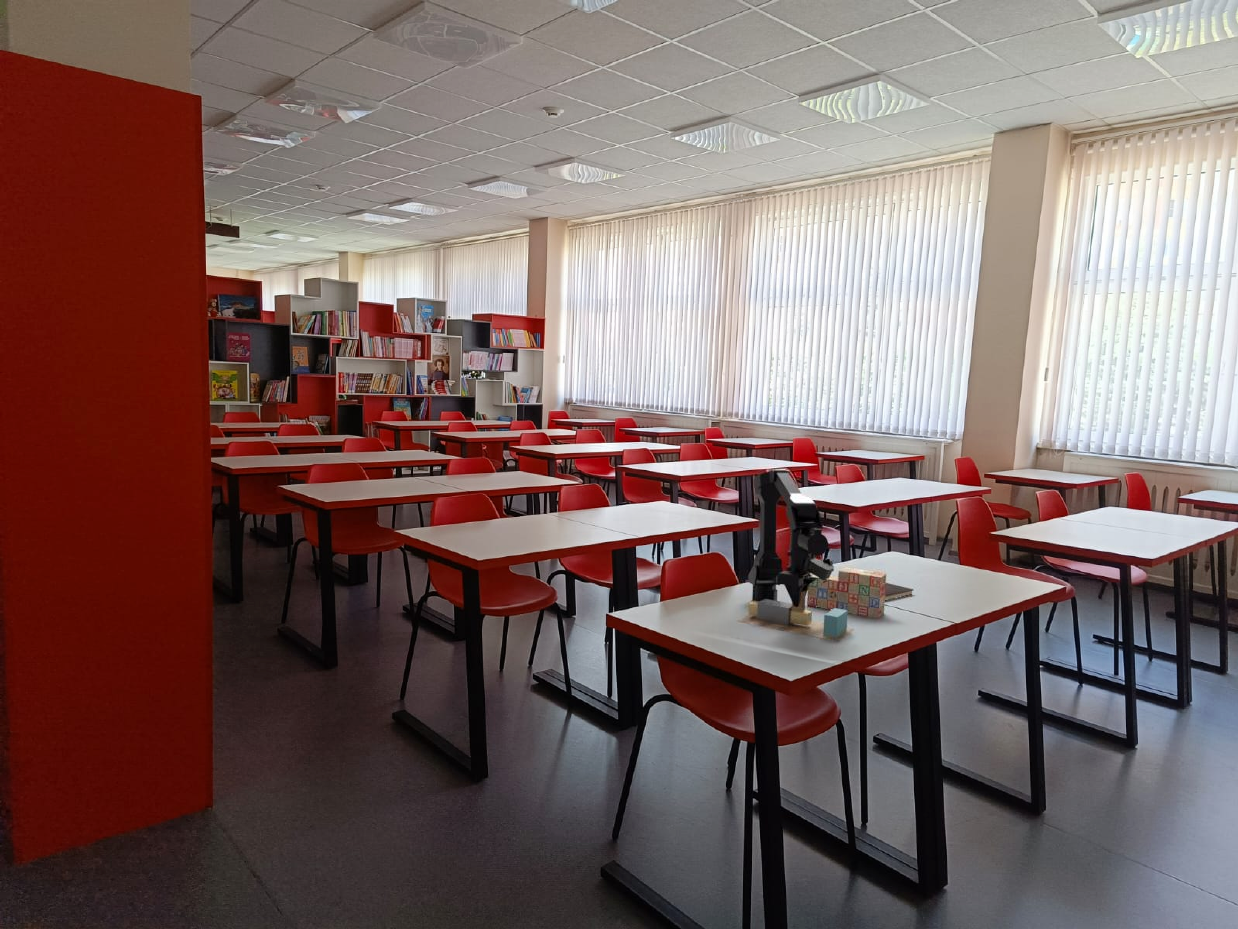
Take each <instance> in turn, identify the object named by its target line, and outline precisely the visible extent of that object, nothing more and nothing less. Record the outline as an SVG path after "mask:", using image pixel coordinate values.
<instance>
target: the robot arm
mask: <svg viewBox="0 0 1238 929" xmlns="http://www.w3.org/2000/svg"><path fill="white" fill-rule="evenodd" d="M753 486H754V487H753V488H754V490H755V495H756V497H757V499H758V500H759V502H760V513H759V514H760V517H759V518H760V519H759V521H760V522H759V523H760V525H759V531H760V532H759V551H758V552H757V554H756V556H755V557H754V559H753V565H752V568H751V569H750V571H749V574H748V577H747V578H748V583H749V584H751V585H752V594H751V598H752V600H751V601H758V602H760V601H762V600H764V599H769V600H775V601H778V589H777V586H781V585H783V586H784V587H785V590H786V591H787V594H788V595H789V598H790V600H791V603H793V605H794V607H798V605H799V601H800V595H801V590H806V594H805V598H806V596H807V594H808V588H809V585H810V584H811V583H812V582H813V581H815V580H816V579H817V578H813V577H812V574H813V575H815V576H817V577H819V579H821V580H826V579H829V577H830V575H832V573H833V572H834V570H835V568H834V567H835V566H834V563H833V560H832V559H831V558H829V557H827V558H824V560H822V559H818V558H816V557H817V556H822V555H824V554H825V553H826V552H827V551H828V549H829V540H828V538H827V537H826V536H825V535H824V534H822V530H823V529H824V526H823V525H824V524H823V523H824V521H823V519H822V517H821V513H820V510H819V507H818V506H817V504H816V502H814V500H813V499H812V498H811V497H808V496H806V495H804V494H803V493H802V492H801V490H800V489H799V487H798V486H797V484H796V483H795V481H794V480H793V478H792V477H791V472H790V470H788V469H786V468H785V469H783V468H774V469H771V470H768V471H766V472H759V473H758V474H757V475H756V476H755V477H754V479H753ZM781 497H782V499H783V500H784V502H785V504H786V510H785V514H786V516H787V520H788V521H789V523H790V524H789V525H788V528H789V529H790V540H789V541H790V542H789V550H788V551H787V552H786V555H787V556H788V557H789V562H788V563H789V564H788V566H786V569H785V570H784V569H783V559H782V558H781V557H780V556H779V554H778V552H777V520H778V519H777V515H778V514H777V513H778V507H777V506H778V502H779V500H780V499H781Z"/></svg>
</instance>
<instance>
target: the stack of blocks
mask: <svg viewBox="0 0 1238 929" xmlns="http://www.w3.org/2000/svg"><path fill="white" fill-rule="evenodd" d="M811 575H812V577H813V578H817V579H816V580H815V581H813V582H812V583H811V584H810V585H809V588H808V591H807V594H806V596H807V598H806V599H807V600H806V605H809V606H808V607H812V606H817V607H821V608H820V609H822V608H827V609H826V610H828V609H834V608H837V609H842V610H848V613H847V614H850V613H854V614H853V615H856V614H858V615H857V616H861V615H862V617H867V616H870V617H869V618H872V617H874V618H873V619H879V617H880V616H881V617H882V616H883V615H884V614H885V602H886V601H885V591H886V583H887V573H885V572H878V571H874V570H869V569H861V568H860V569H859V568H853V567H847V566H846V567H843V568H841V569H839V570H838V575H832V574H831V575H830V577H829V579H826V580H821V579H819V577H817V576H815V575H813V574H811ZM817 607H816V608H817ZM881 617H880V618H881Z"/></svg>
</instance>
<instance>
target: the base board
mask: <svg viewBox="0 0 1238 929" xmlns="http://www.w3.org/2000/svg"><path fill="white" fill-rule="evenodd" d="M737 622H740V623H744V624H749V625H750V624H751V625H755V626H760V627H764V628H768V629H769V628H770V629H775V630H778V631H779V630H780V631H785V632H790V633H794V634H800V635H803V636H809V637H815V638H819V639H824V640H831V641H835V642H840V641H841V640H842V639H844V638H845V637H846V636H848V635H849V634H850V633H852V632H853V631H854V630H855V628H851V627H847V631H845V632H844V633H843V634H841V635H840V636H838V637H837V638H835V637H830V636H825V635H823V632H824V622H818V621H814V620H812V621H811V624H809V625H808V626H806V625H800V624H795V623H793V624H791V625H790V626H783V625H778V624H773V623H768V622H763V621H758V620H757V616H754V615H749V614H748V615H746V616H744V617H743V618H740V619H738V620H737Z"/></svg>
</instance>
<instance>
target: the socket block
mask: <svg viewBox="0 0 1238 929" xmlns="http://www.w3.org/2000/svg"><path fill="white" fill-rule="evenodd" d="M848 614H849V613H848V610H842V609H837V608H834V609H832V610H829V611H828V612H826V613H824V615H823V623H824V632H823V635H825V636H830V637H835V638H837V637H838V636H840V635H841V634H843V633H844V632H845V631H847V628H848Z"/></svg>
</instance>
